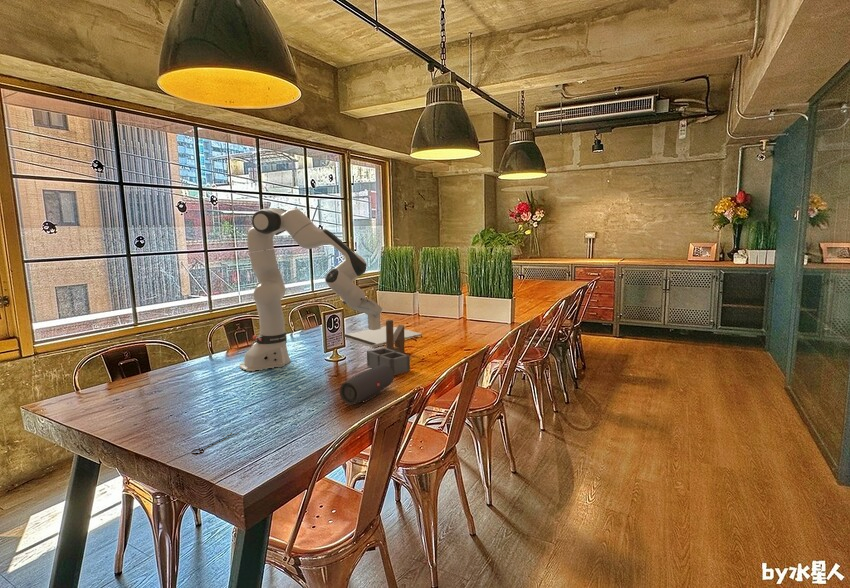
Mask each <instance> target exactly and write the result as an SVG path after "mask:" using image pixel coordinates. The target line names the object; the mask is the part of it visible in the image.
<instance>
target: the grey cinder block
mask: <svg viewBox="0 0 850 588" xmlns="http://www.w3.org/2000/svg"><path fill="white" fill-rule="evenodd" d="M410 358H411V357H410V355H408V354H406V353H400V352H397V351H394V350H391V349H388V348H386V347H380V348H376V349H375V348H374V349H373V350H372V349H371V350H367V351H366V366H367V367H368V368H370V367H371V368H370V369H372V368H374V367H377V366H380V365H387V366H389V367H390V368H391V370H392V372H393V375H394V376H397V375H401V374H404V373H408V372H411V371H410V370H411V365H410V363H411V362H410V360H411V359H410Z"/></svg>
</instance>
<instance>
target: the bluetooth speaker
mask: <svg viewBox="0 0 850 588" xmlns="http://www.w3.org/2000/svg"><path fill="white" fill-rule="evenodd" d="M394 379H395V375H393V372H392V370H391V368H390V367H389V366H387V365H380V366H377V367H374V368H370V369H367V370H365V371H363V372H361V373H358V374H357V375H355V376H353V377H351V378H349V379H347V380H346V381H344V382H343V383H342V384H341V385H340V387H339V396H340V399H341V400H342V401H343V402H344V403H345V404H347V405H351V406H352V405H356V404H358V403H364V402H363V401H365V402H367V401H369V400H371V399H372V397H373V398H375V397H376V396H378V395H379V393H380V392H381V391H383V390H384V389H386V388H388V387H389V386H390V385H392V383H393V382H394ZM377 394H378V395H377ZM375 395H376V396H375ZM374 396H375V397H374ZM370 398H371V399H370ZM368 399H369V400H368ZM366 400H367V401H366Z"/></svg>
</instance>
